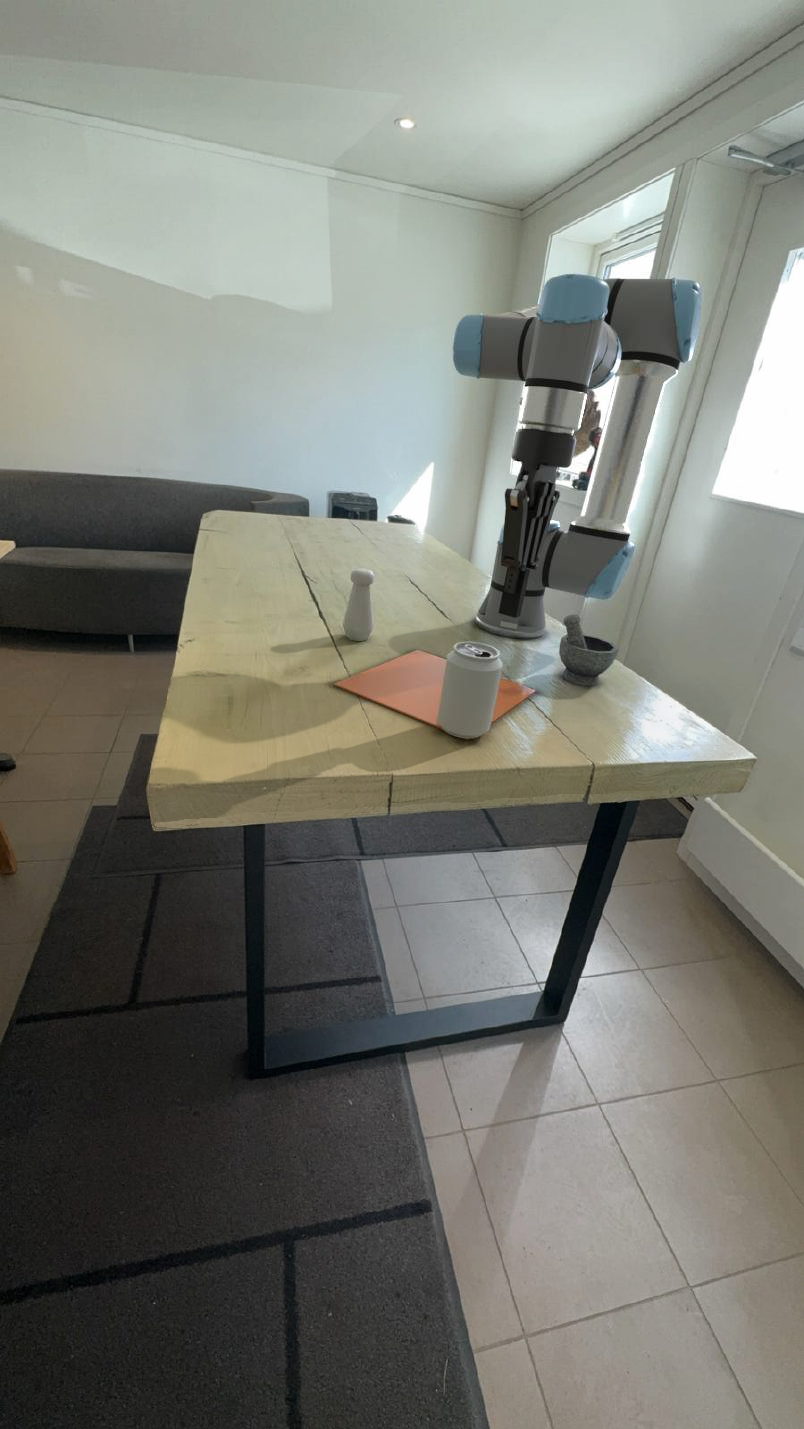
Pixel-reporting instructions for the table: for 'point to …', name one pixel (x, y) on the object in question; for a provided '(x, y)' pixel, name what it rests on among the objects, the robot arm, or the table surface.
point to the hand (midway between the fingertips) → (509, 614)
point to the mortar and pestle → (584, 654)
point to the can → (469, 689)
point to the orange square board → (420, 687)
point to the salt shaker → (359, 606)
